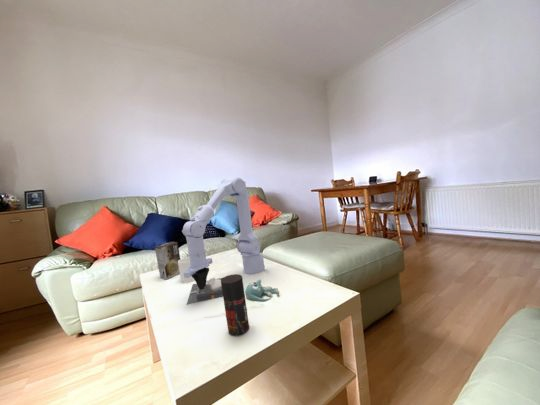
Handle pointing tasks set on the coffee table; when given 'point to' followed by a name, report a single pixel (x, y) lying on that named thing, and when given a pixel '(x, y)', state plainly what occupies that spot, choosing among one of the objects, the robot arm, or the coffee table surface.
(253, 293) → the stuffed animal
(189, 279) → the mug
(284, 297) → the coffee table surface
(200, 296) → the panel
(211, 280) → the dial
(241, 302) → the deodorant
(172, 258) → the coffee box
